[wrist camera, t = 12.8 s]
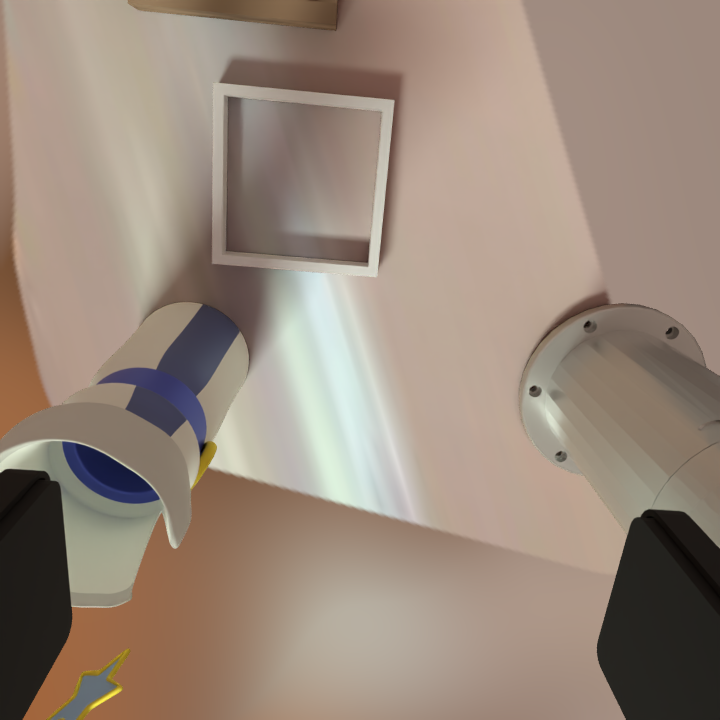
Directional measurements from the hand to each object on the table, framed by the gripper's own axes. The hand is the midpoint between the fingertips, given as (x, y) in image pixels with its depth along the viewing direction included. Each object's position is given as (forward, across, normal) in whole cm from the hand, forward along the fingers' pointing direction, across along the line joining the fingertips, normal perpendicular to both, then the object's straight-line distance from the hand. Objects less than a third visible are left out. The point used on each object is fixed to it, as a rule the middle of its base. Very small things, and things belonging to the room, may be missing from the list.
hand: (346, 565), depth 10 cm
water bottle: (+31, +10, +8) cm, 33 cm away
